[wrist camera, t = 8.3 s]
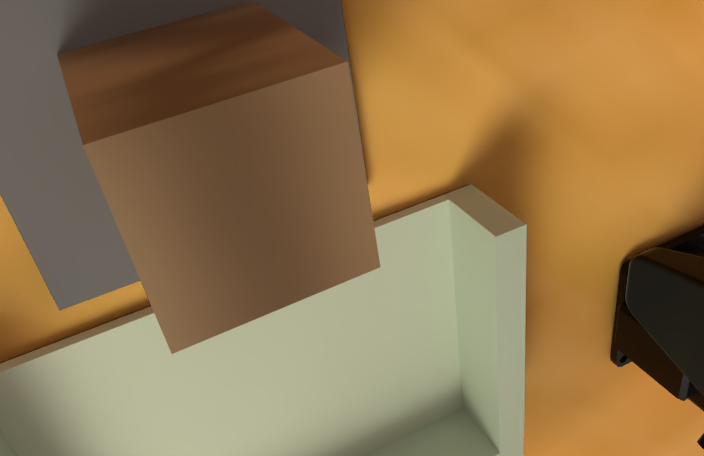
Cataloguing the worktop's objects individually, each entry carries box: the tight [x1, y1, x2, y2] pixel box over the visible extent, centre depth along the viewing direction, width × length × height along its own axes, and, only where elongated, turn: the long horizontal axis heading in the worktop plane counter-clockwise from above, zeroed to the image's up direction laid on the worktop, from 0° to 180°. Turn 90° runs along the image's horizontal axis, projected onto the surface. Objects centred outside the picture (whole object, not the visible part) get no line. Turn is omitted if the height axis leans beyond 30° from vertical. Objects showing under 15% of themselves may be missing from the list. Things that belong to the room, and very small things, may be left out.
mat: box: [0, 0, 366, 310], centre depth 18 cm, size 10×9×1 cm
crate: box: [0, 184, 527, 456], centre depth 24 cm, size 18×12×3 cm, turn 98°
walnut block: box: [57, 0, 380, 354], centre depth 16 cm, size 5×5×6 cm
